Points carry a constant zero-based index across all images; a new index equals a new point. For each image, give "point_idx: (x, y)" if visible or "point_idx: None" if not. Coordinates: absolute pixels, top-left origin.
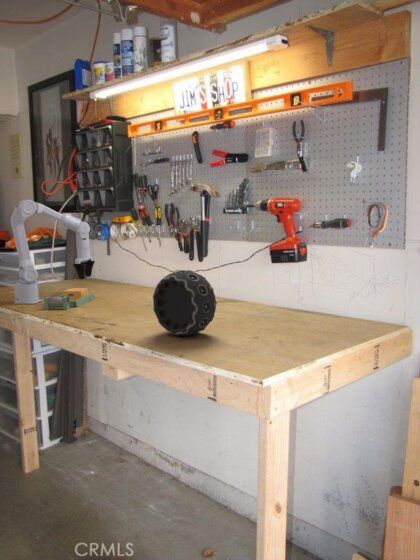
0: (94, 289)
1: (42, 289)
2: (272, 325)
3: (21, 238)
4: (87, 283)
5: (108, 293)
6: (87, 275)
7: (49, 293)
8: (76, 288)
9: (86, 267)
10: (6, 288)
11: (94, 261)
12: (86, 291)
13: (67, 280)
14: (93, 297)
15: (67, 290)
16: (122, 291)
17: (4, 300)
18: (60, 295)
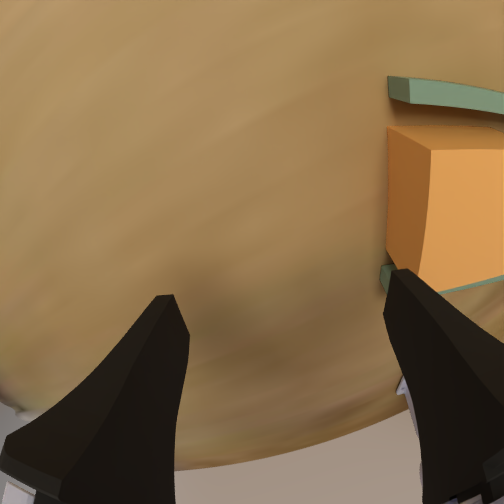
0: (50, 274)
1: None
2: None
3: None
4: (3, 353)
5: (127, 79)
6: (181, 334)
7: (229, 400)
8: (437, 246)
9: (159, 438)
10: (188, 468)
11: (6, 462)
12: (446, 141)
13: (25, 405)
14: (407, 77)
15: (497, 263)
16: (37, 39)
17: (375, 423)
18: (464, 285)
